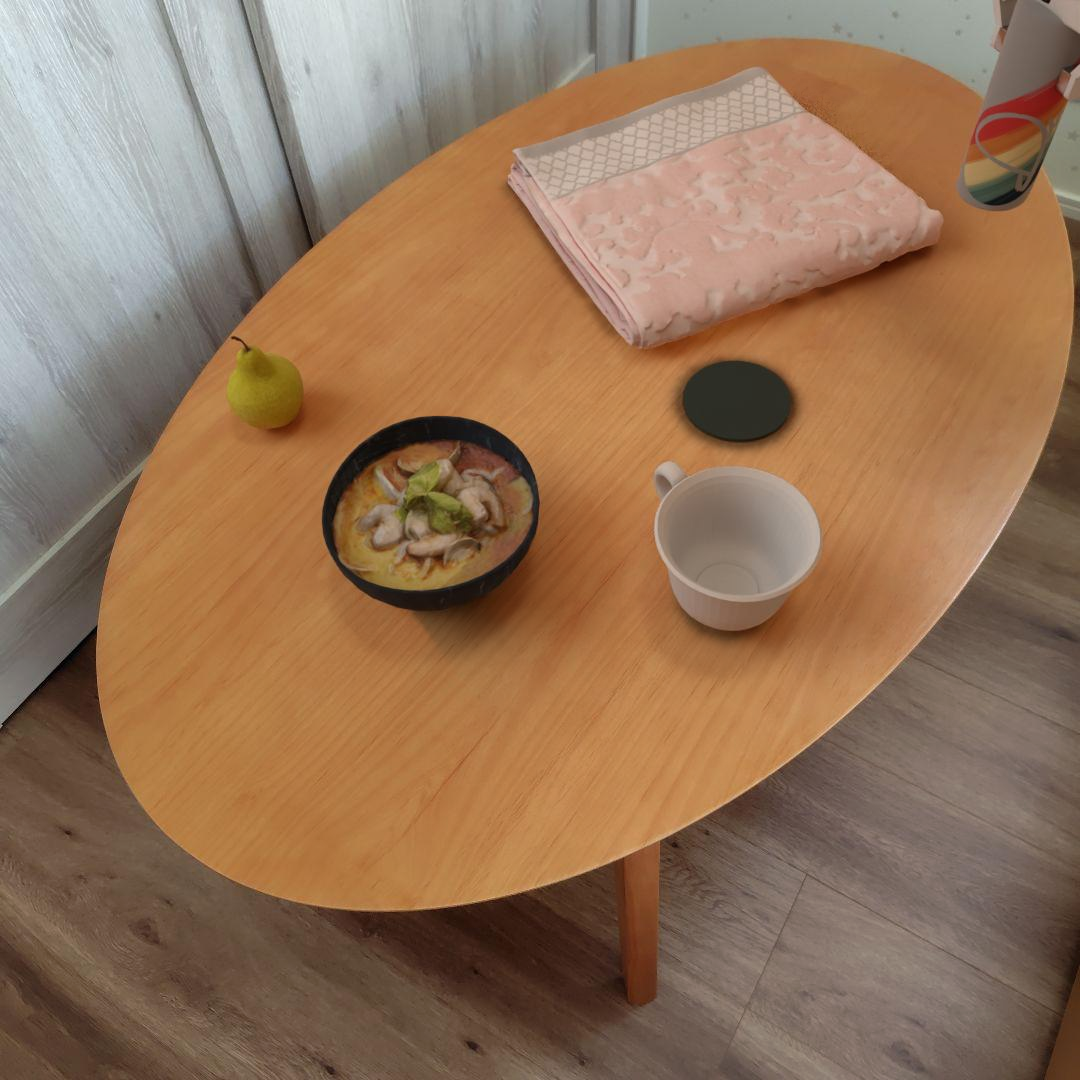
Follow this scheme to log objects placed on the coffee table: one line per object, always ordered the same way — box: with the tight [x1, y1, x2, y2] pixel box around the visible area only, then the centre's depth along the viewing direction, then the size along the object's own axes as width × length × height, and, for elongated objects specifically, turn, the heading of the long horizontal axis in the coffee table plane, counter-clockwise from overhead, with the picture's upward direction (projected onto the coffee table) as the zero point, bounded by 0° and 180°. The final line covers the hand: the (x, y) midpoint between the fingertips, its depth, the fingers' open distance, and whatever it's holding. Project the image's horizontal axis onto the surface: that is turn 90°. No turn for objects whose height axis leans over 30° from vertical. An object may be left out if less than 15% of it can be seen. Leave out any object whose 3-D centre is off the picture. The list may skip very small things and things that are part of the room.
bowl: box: [321, 415, 541, 612], centre depth 76 cm, size 17×17×10 cm
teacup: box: [653, 460, 824, 632], centre depth 73 cm, size 12×15×10 cm
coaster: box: [682, 360, 792, 443], centre depth 88 cm, size 10×10×1 cm
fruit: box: [226, 335, 304, 430], centre depth 86 cm, size 7×7×12 cm
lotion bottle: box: [956, 0, 1080, 212], centre depth 69 cm, size 6×6×20 cm
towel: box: [507, 66, 945, 351], centre depth 101 cm, size 36×34×6 cm
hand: (1035, 70), depth 69 cm, fingers closed on lotion bottle, 6 cm apart
